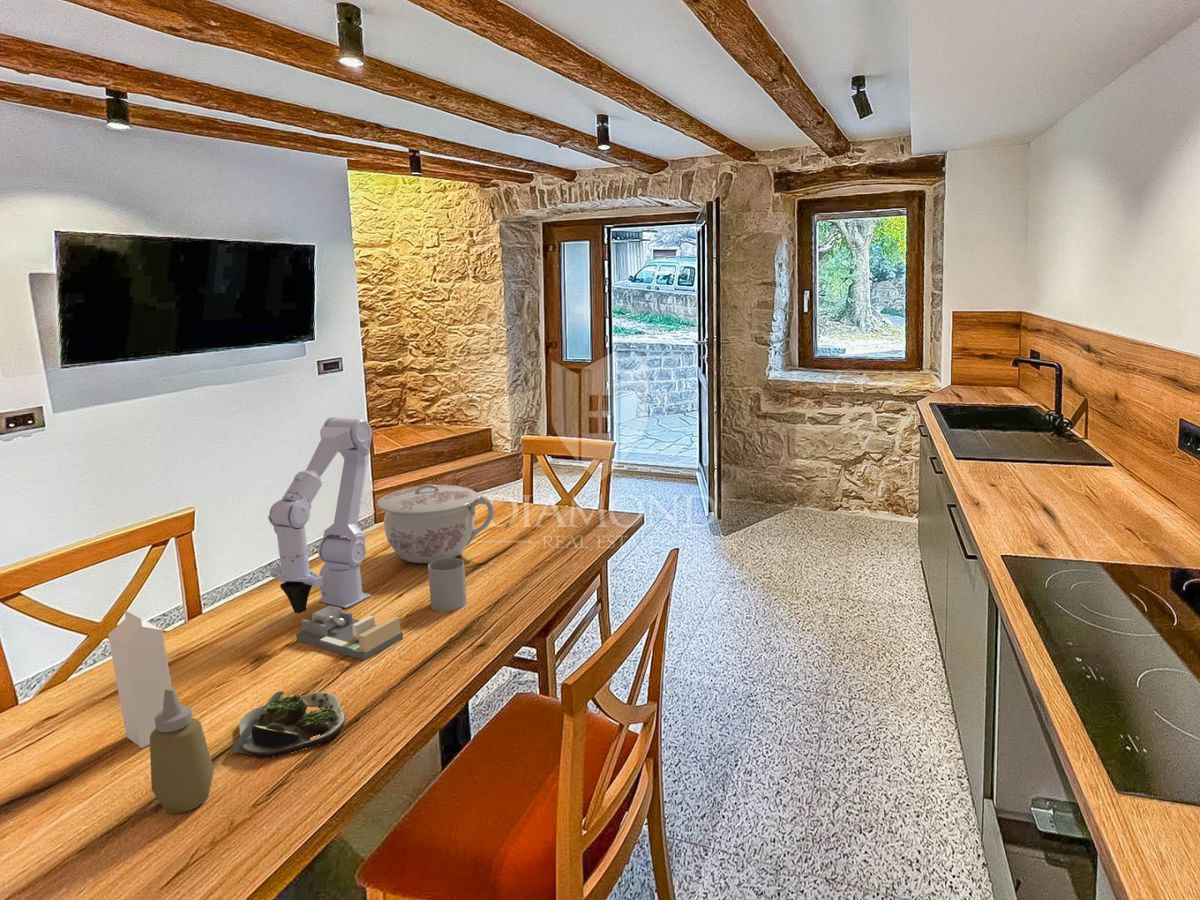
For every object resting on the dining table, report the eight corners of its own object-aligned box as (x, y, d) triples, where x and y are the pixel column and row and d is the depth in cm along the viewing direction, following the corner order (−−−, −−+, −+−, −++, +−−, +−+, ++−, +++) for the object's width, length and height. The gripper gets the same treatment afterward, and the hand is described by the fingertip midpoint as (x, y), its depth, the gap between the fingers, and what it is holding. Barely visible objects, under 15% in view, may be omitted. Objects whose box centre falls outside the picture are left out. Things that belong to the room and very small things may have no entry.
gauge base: (296, 640, 163) (294, 618, 162) (336, 620, 173) (334, 599, 172) (364, 660, 154) (362, 637, 153) (402, 638, 163) (401, 616, 162)
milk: (162, 721, 134) (144, 603, 129) (179, 732, 130) (160, 611, 126) (125, 737, 129) (104, 615, 124) (141, 749, 125) (120, 624, 121)
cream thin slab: (346, 642, 157) (344, 628, 156) (371, 628, 163) (370, 615, 162) (350, 643, 156) (348, 629, 156) (375, 629, 162) (374, 616, 162)
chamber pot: (360, 561, 210) (353, 488, 206) (434, 534, 232) (429, 467, 228) (431, 581, 194) (425, 503, 190) (503, 550, 216) (499, 479, 212)
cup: (458, 612, 175) (455, 571, 173) (425, 610, 177) (421, 569, 175) (471, 598, 183) (469, 558, 181) (439, 596, 185) (436, 557, 183)
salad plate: (231, 712, 137) (227, 688, 136) (335, 687, 144) (332, 665, 143) (232, 771, 120) (228, 745, 119) (350, 740, 127) (347, 715, 126)
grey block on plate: (313, 628, 164) (311, 613, 164) (331, 619, 169) (330, 605, 168) (334, 634, 161) (333, 619, 161) (352, 625, 166) (351, 610, 165)
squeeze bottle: (199, 777, 118) (183, 670, 114) (228, 796, 113) (212, 685, 109) (144, 807, 111) (125, 695, 107) (173, 827, 107) (153, 711, 103)
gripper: (255, 554, 167) (263, 612, 170) (301, 564, 160) (308, 624, 163) (283, 544, 173) (289, 600, 176) (327, 554, 166) (334, 612, 169)
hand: (300, 611), depth 170 cm, fingers closed
